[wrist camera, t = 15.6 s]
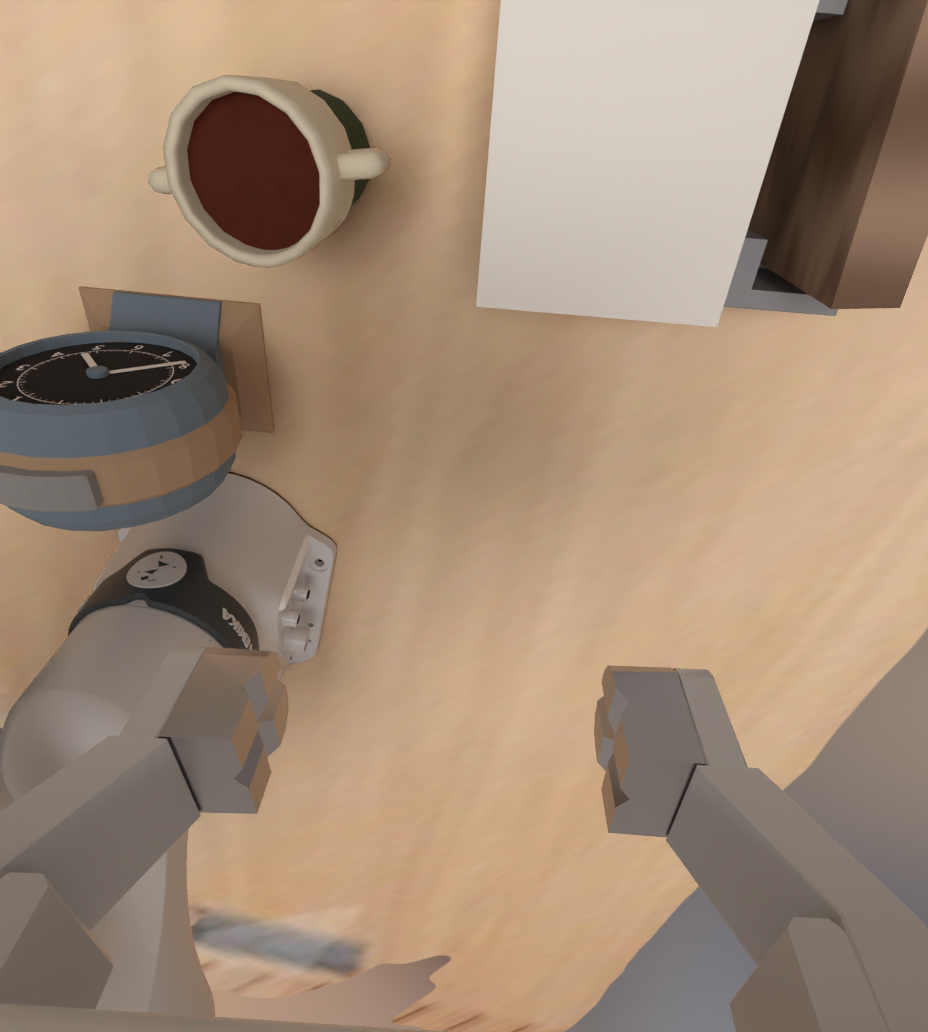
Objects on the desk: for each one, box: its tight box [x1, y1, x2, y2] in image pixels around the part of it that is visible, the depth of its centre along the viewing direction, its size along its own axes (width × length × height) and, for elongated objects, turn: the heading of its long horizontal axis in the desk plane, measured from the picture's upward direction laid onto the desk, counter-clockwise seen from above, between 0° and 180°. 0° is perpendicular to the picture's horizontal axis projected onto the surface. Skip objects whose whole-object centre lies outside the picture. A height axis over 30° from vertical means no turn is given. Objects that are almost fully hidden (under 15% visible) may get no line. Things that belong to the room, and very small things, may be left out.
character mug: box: [148, 75, 391, 268], centre depth 31 cm, size 11×7×13 cm, turn 94°
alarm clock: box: [0, 287, 274, 531], centre depth 37 cm, size 14×10×18 cm
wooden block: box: [748, 0, 928, 309], centre depth 29 cm, size 12×4×12 cm, turn 2°
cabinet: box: [476, 0, 848, 327], centre depth 30 cm, size 16×20×11 cm
